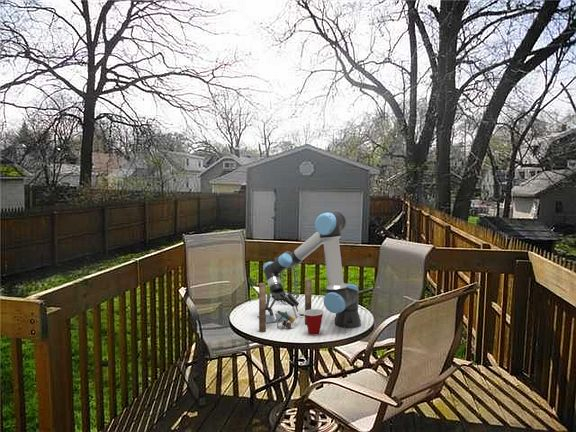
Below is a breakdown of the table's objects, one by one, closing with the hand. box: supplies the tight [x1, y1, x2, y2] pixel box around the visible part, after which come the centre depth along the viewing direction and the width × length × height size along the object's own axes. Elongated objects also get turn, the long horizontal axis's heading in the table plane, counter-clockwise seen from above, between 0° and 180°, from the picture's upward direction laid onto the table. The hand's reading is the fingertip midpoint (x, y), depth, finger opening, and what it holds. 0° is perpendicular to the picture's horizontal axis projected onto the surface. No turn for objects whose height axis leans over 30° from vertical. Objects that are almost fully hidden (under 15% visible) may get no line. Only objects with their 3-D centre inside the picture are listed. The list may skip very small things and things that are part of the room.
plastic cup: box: [303, 308, 325, 336], centre depth 238 cm, size 11×11×12 cm
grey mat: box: [257, 313, 290, 325], centre depth 263 cm, size 14×14×1 cm
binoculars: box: [276, 310, 296, 330], centre depth 246 cm, size 9×9×10 cm
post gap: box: [258, 278, 313, 333], centre depth 246 cm, size 4×32×26 cm, turn 116°
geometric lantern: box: [273, 250, 300, 305], centre depth 299 cm, size 16×16×35 cm
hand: (286, 318), depth 246 cm, fingers open, 13 cm apart
